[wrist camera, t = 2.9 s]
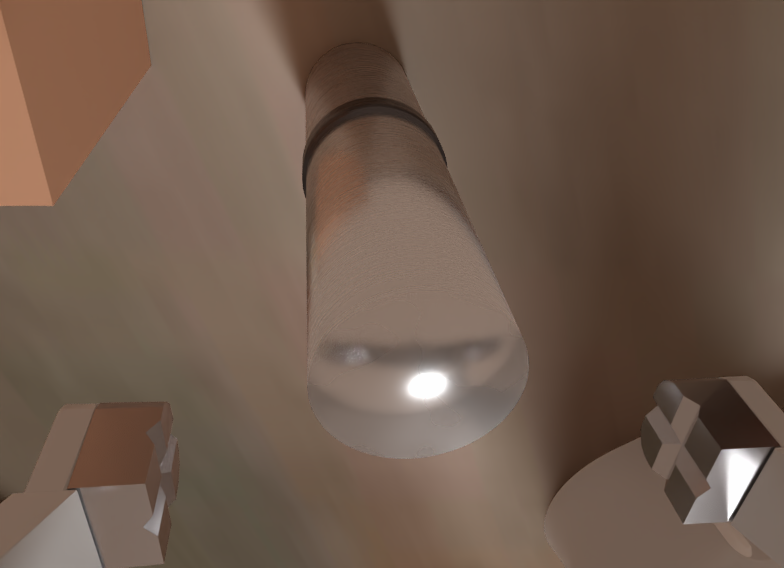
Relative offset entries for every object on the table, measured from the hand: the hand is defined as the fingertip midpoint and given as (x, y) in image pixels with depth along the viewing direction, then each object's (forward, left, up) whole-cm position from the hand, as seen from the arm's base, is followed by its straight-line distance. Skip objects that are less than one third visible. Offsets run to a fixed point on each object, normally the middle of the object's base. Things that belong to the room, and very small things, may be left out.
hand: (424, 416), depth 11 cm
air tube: (0, 0, -17) cm, 17 cm away
